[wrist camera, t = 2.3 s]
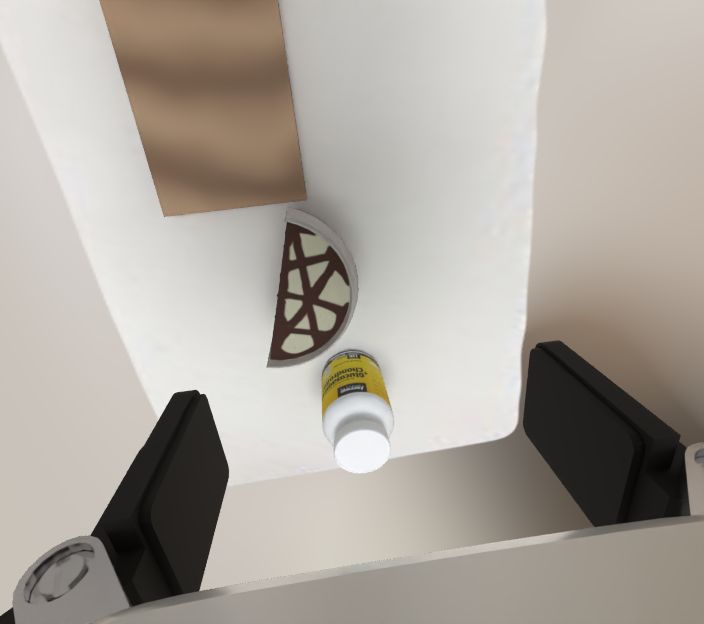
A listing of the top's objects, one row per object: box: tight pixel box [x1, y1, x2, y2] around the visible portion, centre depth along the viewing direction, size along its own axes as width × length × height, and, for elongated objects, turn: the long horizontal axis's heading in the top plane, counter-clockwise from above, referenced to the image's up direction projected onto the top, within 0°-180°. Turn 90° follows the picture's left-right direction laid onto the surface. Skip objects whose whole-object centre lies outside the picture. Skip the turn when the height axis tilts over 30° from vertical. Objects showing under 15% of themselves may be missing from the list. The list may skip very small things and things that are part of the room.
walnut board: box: [99, 0, 307, 217], centre depth 29 cm, size 20×12×2 cm, turn 6°
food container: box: [267, 207, 358, 368], centre depth 32 cm, size 12×6×10 cm, turn 169°
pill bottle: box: [322, 351, 394, 473], centre depth 36 cm, size 6×6×12 cm
